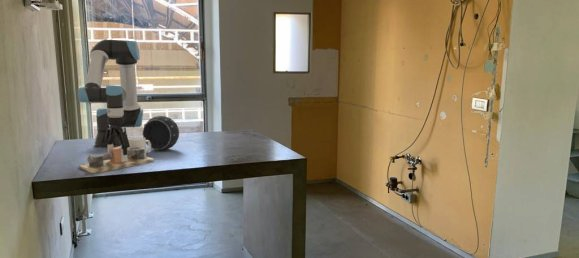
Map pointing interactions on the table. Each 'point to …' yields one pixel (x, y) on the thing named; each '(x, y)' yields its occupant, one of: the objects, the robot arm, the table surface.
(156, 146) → the black drum
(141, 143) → the mug
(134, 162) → the shaft bench
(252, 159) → the table surface
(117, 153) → the coupler
